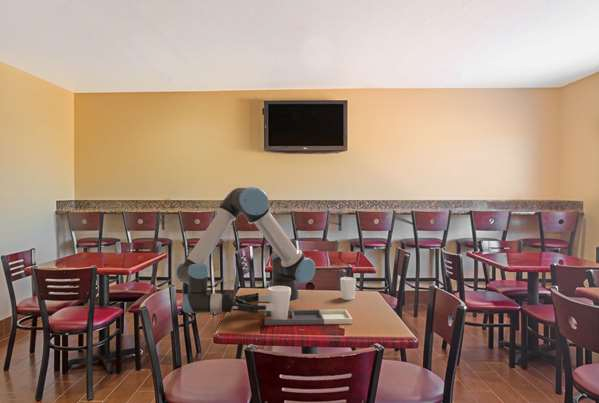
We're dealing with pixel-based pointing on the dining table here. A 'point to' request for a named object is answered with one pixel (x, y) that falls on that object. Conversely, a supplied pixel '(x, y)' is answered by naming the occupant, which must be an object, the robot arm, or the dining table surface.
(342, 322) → the grey flat rectangular tray
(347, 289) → the white cup
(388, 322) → the dining table surface
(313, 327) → the dining table surface
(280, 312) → the foam cup
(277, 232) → the robot arm
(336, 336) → the dining table surface
